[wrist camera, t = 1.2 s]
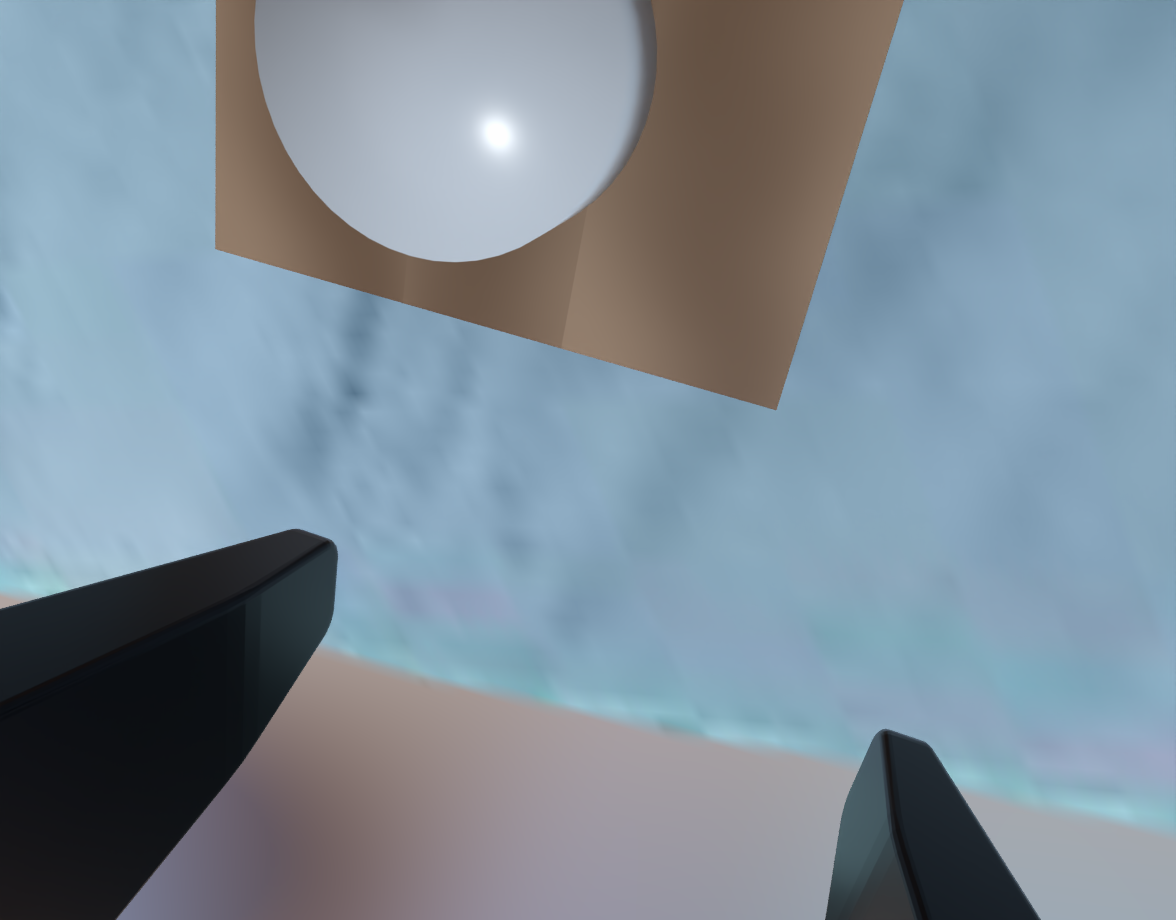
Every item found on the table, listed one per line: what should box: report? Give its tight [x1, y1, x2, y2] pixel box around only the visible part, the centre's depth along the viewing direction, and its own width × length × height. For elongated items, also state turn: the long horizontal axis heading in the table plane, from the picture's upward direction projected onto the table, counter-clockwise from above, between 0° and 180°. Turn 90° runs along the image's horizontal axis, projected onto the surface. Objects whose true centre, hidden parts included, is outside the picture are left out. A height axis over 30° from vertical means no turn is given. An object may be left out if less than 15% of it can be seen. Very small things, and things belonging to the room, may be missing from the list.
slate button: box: [254, 0, 657, 262], centre depth 15 cm, size 6×6×5 cm
